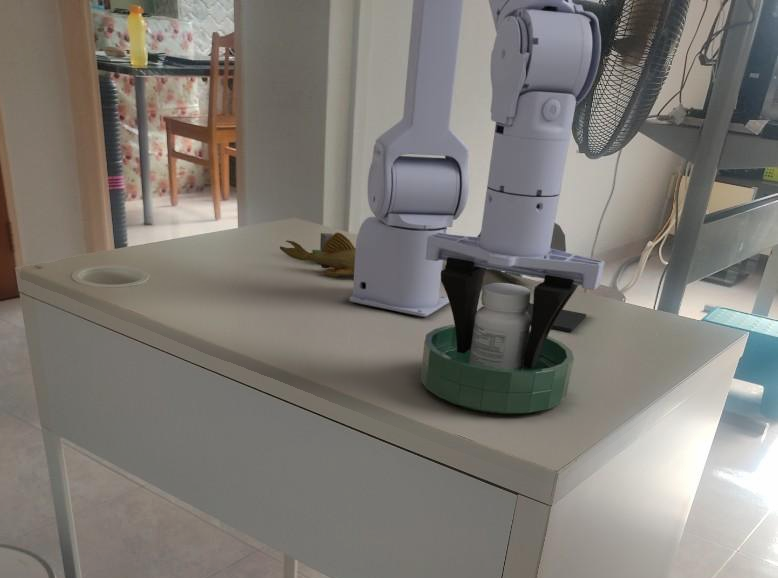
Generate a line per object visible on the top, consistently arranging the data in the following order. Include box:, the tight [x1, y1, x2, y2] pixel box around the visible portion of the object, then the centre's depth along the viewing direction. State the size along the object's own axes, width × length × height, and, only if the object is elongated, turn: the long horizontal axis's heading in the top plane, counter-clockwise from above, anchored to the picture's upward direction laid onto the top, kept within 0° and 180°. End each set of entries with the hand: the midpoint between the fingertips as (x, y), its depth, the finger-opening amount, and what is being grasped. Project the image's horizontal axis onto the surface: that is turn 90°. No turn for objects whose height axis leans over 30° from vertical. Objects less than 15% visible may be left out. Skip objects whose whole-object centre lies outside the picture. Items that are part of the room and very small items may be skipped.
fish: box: [279, 232, 356, 278], centre depth 104 cm, size 5×14×5 cm, turn 77°
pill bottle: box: [469, 282, 532, 370], centre depth 72 cm, size 5×5×8 cm
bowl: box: [420, 324, 575, 415], centre depth 73 cm, size 13×13×4 cm
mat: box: [526, 302, 587, 333], centre depth 95 cm, size 8×7×1 cm
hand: (497, 357), depth 73 cm, fingers open, 5 cm apart
